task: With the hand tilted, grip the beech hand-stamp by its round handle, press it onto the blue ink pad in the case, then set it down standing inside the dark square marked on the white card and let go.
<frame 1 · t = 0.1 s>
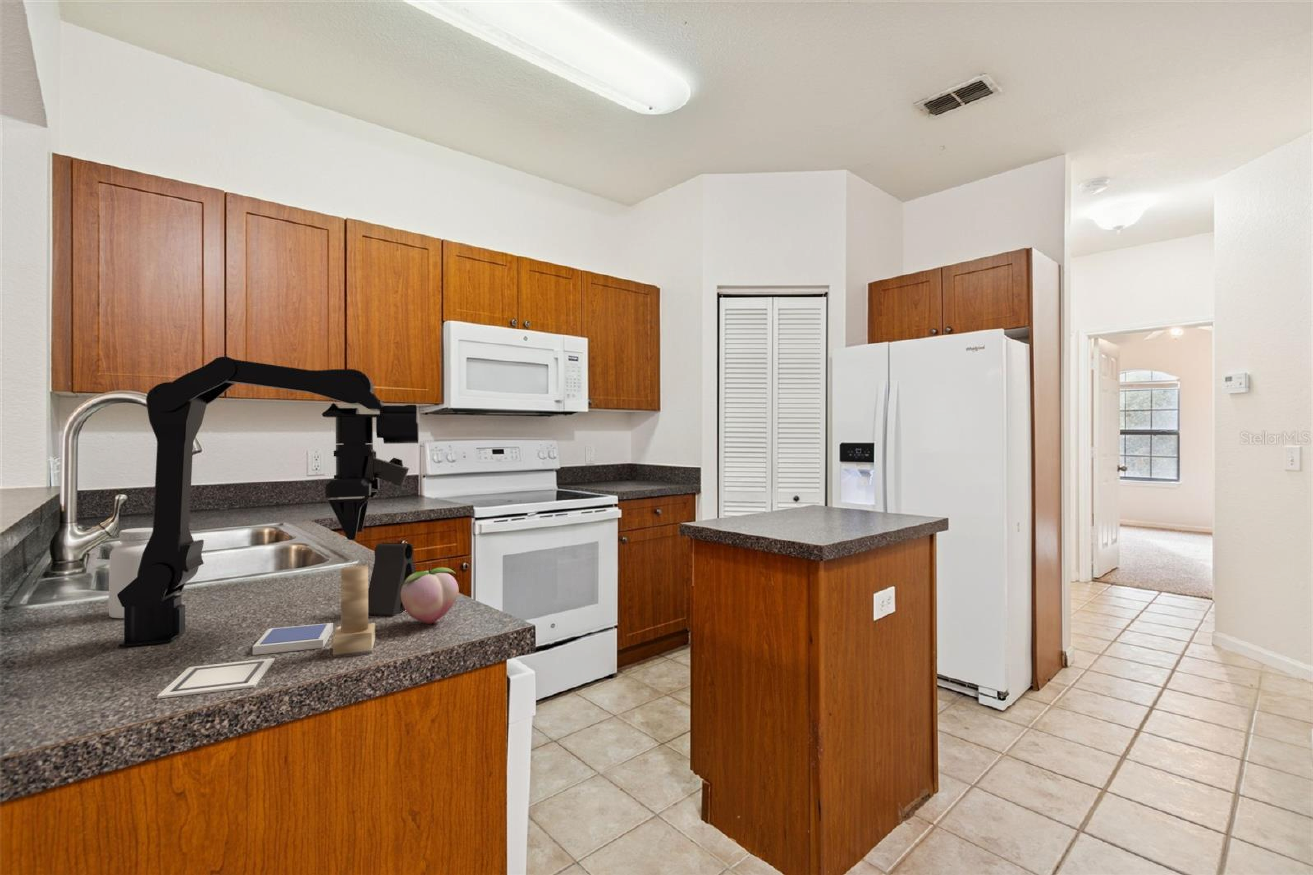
hand: (355, 535, 104), 15 cm above the counter, tool pointing down, fingers open, 9 cm apart
decorative fruit: (428, 624, 103), on the counter
pill bottle: (138, 614, 109), on the counter
card: (220, 677, 79), on the counter
stamp: (354, 649, 90), on the counter
phone stand: (394, 610, 112), on the counter
ink pad: (295, 641, 93), on the counter
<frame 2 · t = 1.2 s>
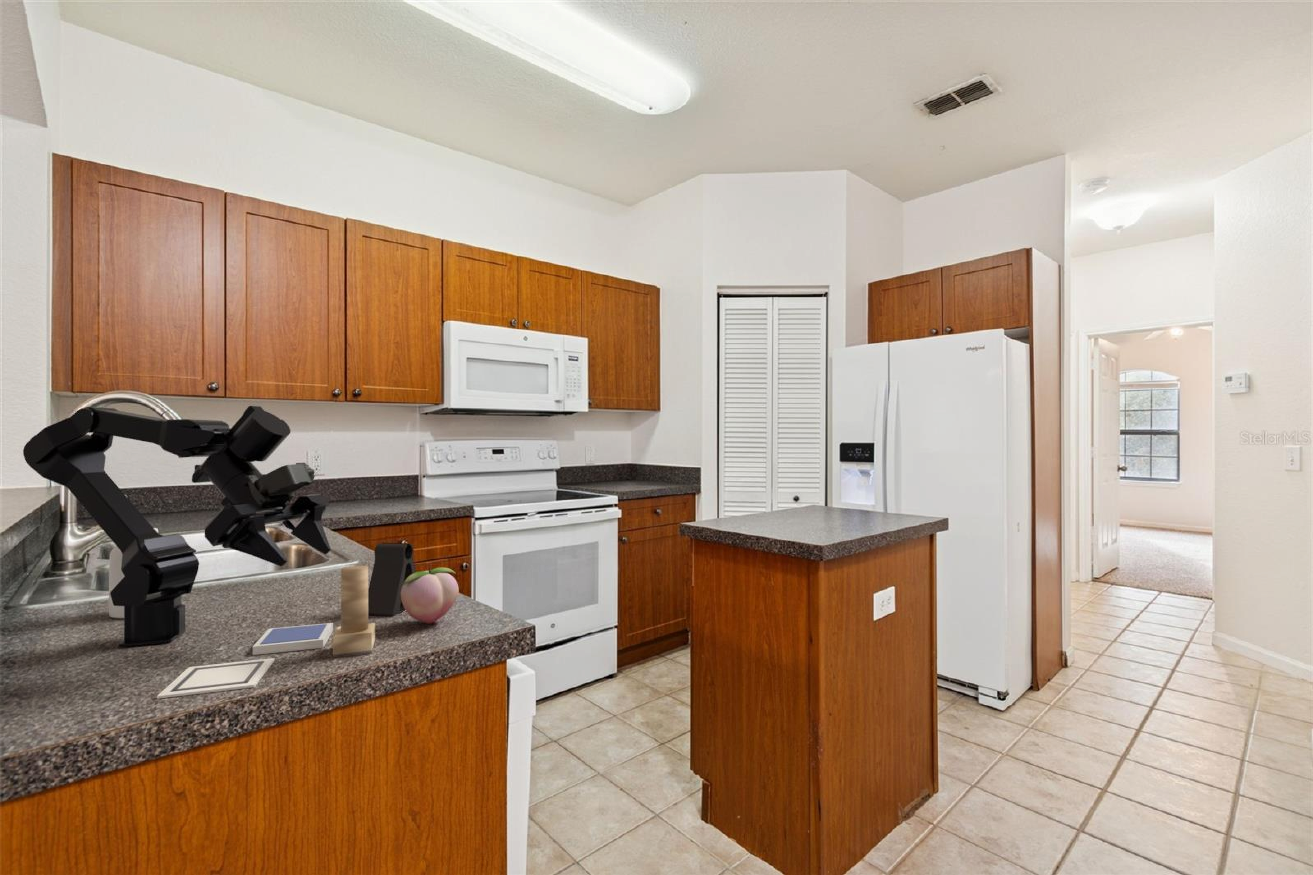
hand: (307, 557, 91), 13 cm above the counter, tool tilted 45°, fingers open, 9 cm apart
nothing on the counter moved.
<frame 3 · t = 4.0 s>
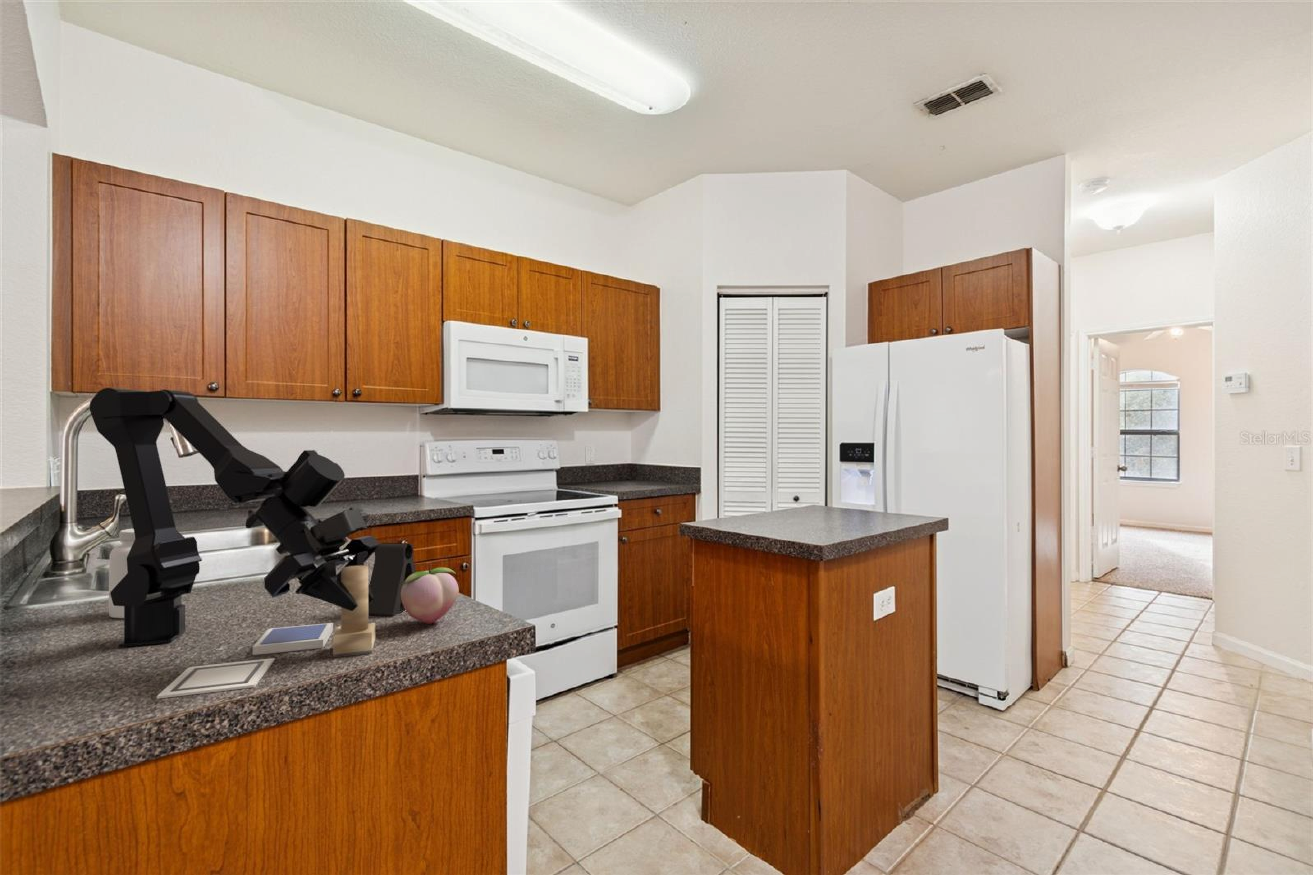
hand: (363, 605, 90), 7 cm above the counter, tool tilted 45°, fingers closed on stamp, 4 cm apart
stamp: (354, 649, 90), on the counter, touching gripper
everything else where it was.
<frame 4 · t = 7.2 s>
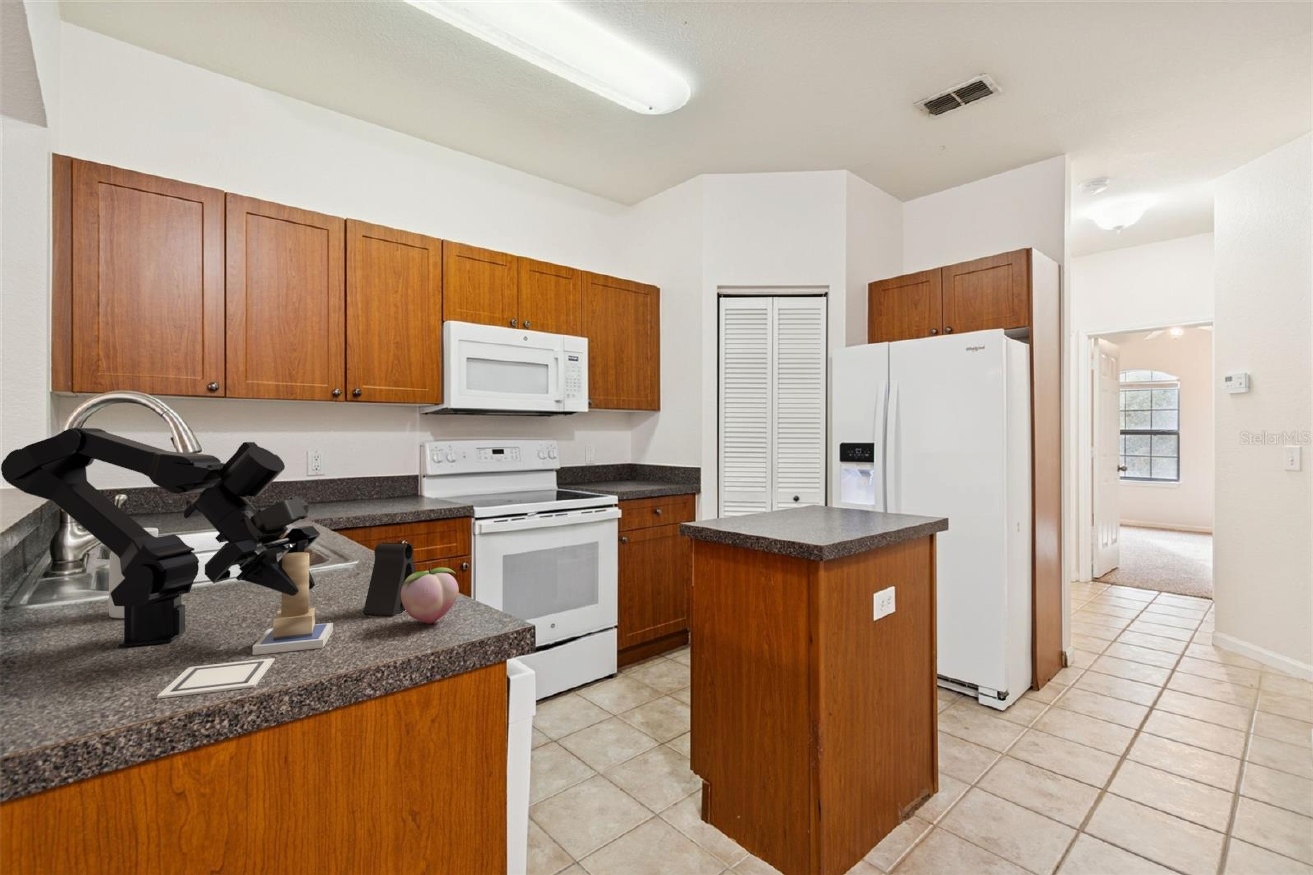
hand: (304, 590, 93), 8 cm above the counter, tool tilted 45°, fingers closed on stamp, 4 cm apart
stamp: (294, 633, 93), point 1 cm above the counter, touching gripper, ink pad
everything else where it was.
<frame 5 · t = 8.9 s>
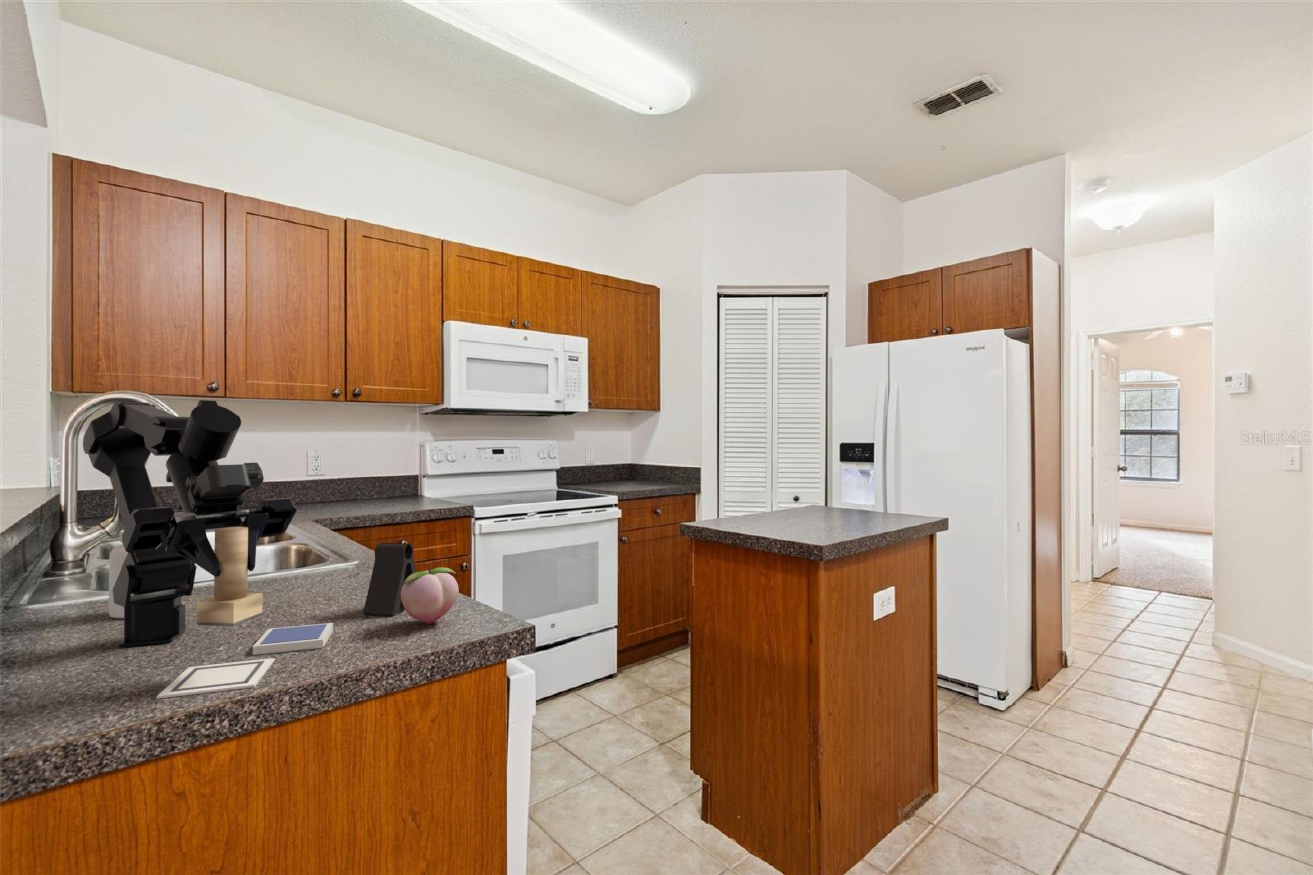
hand: (235, 571, 80), 14 cm above the counter, tool tilted 45°, fingers closed on stamp, 4 cm apart
stamp: (230, 620, 80), point 7 cm above the counter, touching gripper
everything else where it was.
when the fingers open (8 cm above the counter, at t = 10.3 s): stamp stays where it is, resting on card.
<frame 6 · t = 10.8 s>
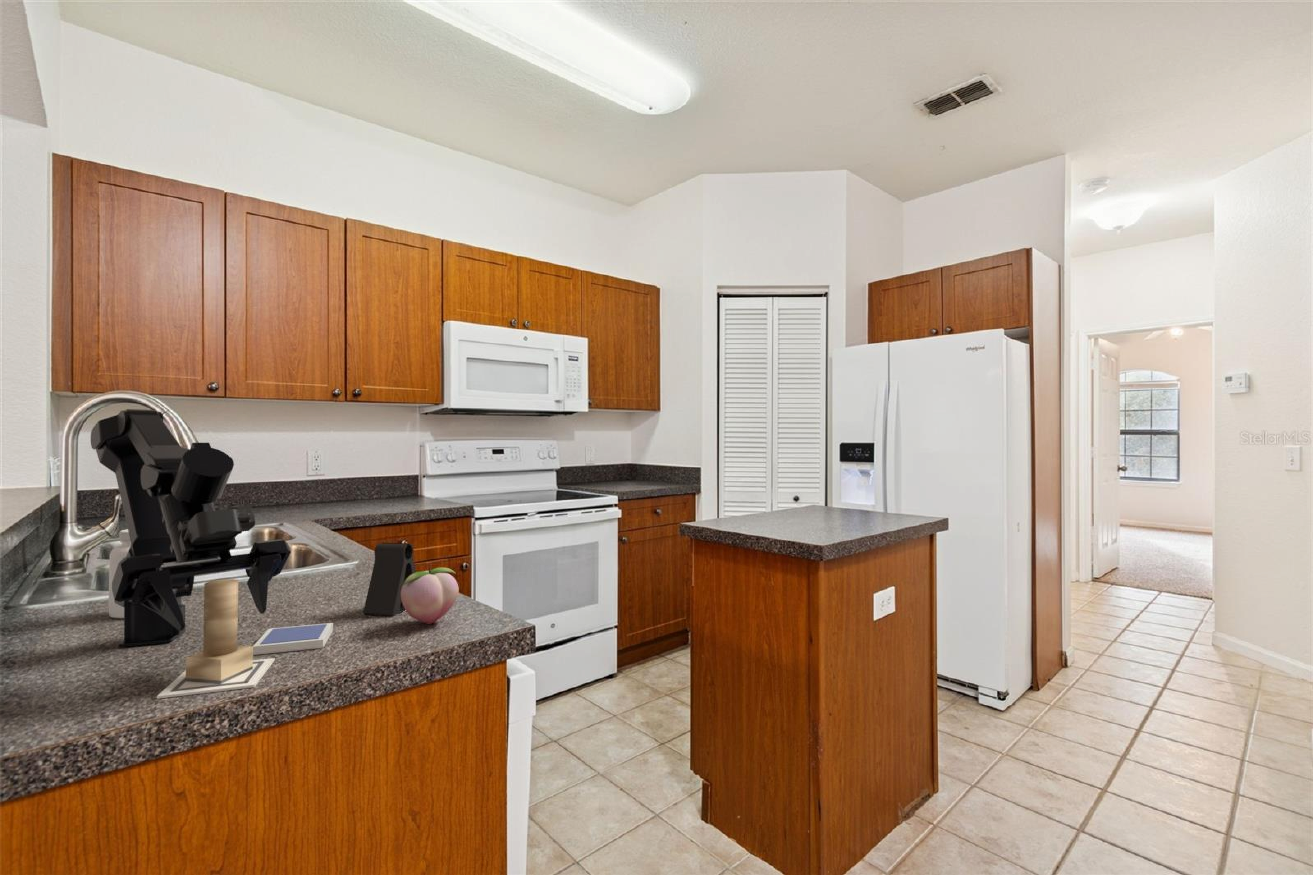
hand: (224, 619, 78), 8 cm above the counter, tool tilted 45°, fingers open, 9 cm apart
stamp: (220, 675, 79), resting on card
everything else where it was.
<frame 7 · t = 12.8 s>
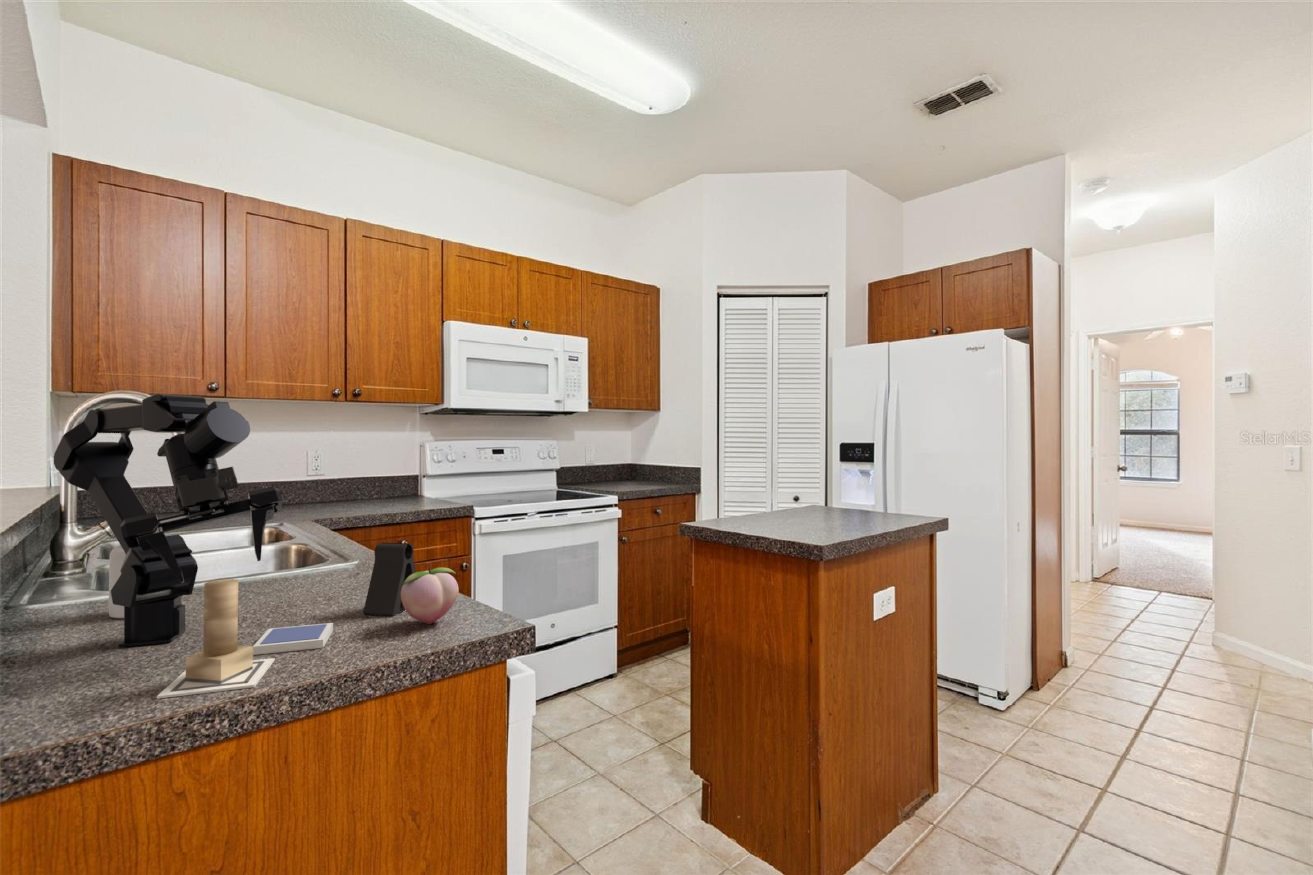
hand: (222, 570, 88), 12 cm above the counter, tool tilted 25°, fingers open, 9 cm apart
nothing on the counter moved.
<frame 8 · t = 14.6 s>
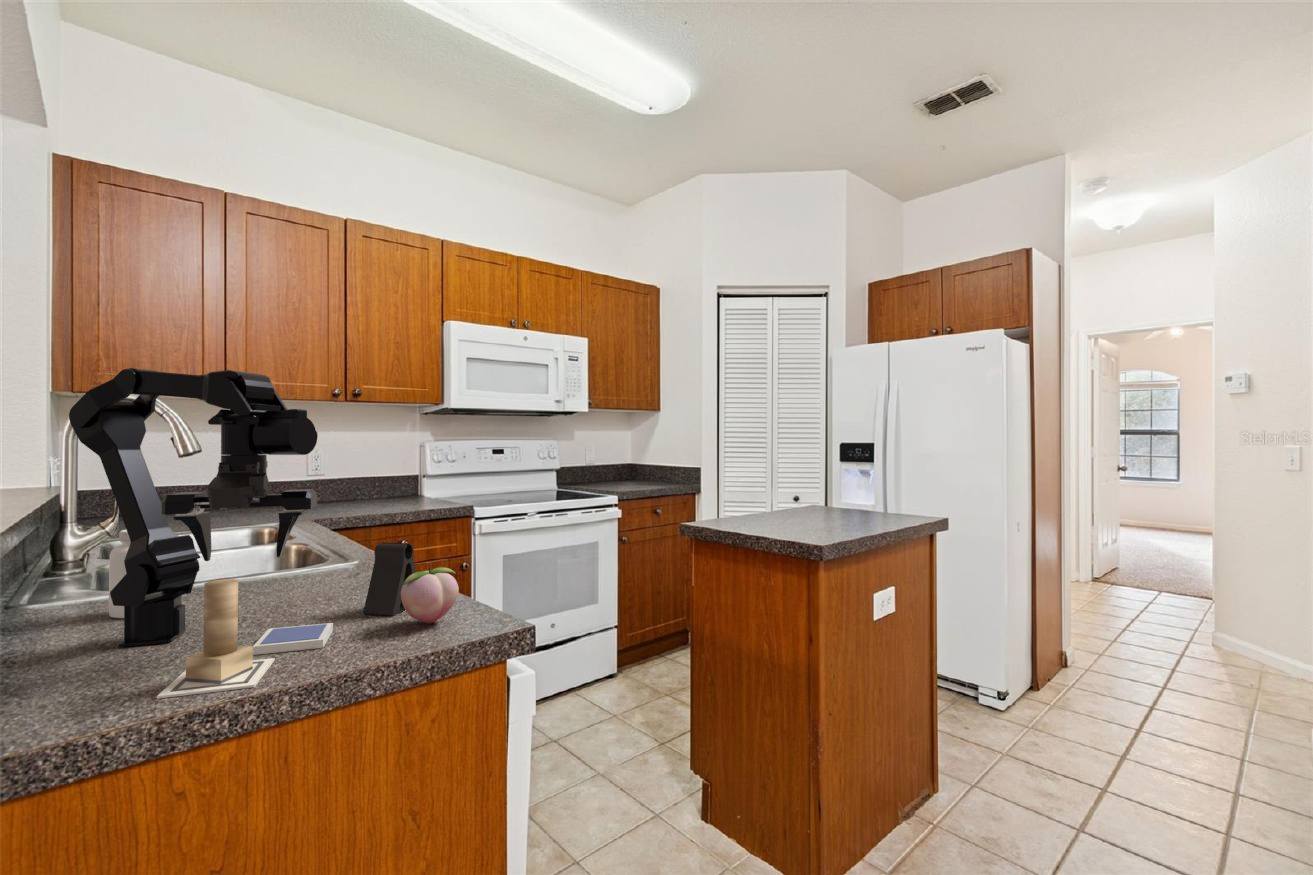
hand: (243, 558, 92), 13 cm above the counter, tool pointing down, fingers open, 9 cm apart
nothing on the counter moved.
at the end: stamp 0.2 cm off-centre on the card, point 0.3 cm above the card's base; stamp tilted 1°; the gripper is holding nothing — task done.
